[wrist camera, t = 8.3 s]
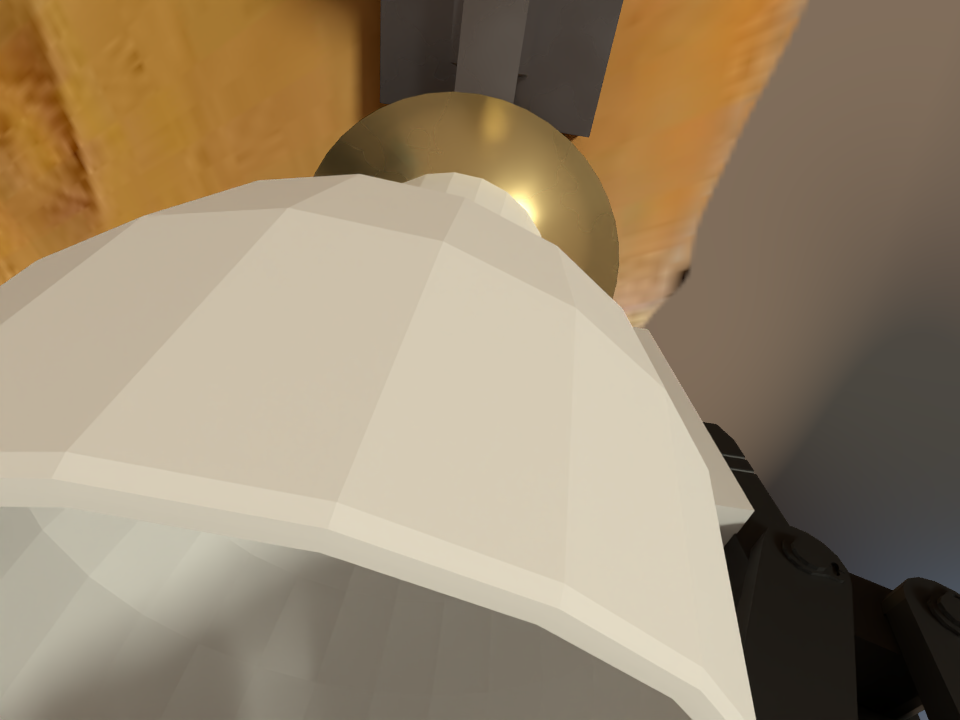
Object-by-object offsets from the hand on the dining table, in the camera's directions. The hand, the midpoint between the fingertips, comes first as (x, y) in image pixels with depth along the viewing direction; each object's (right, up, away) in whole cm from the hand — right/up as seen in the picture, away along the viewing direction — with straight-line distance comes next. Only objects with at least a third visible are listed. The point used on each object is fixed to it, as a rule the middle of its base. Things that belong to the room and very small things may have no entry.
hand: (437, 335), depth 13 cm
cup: (0, +3, +4) cm, 5 cm away
